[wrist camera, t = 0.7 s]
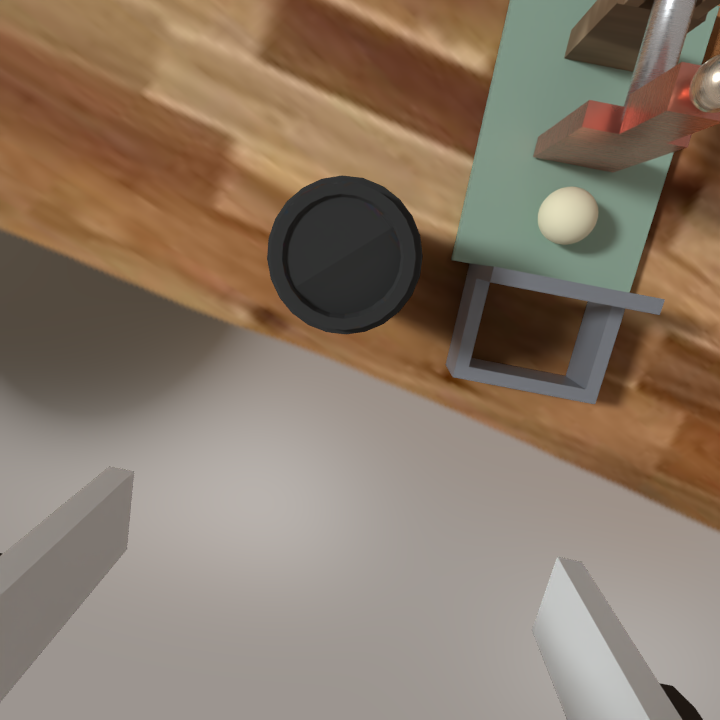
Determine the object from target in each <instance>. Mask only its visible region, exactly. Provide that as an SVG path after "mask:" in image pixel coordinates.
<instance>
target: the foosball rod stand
mask: <svg viewBox="0 0 720 720" xmlns="http://www.w3.org/2000/svg"><path fill="white" fill-rule="evenodd" d="M696 2H697V0H654V2H653V6H652V9H651V13H650V16H649V20H648V23H647V27H646V30H645V34H644V37H643V41H642V44H641V47H640V51H639V54H638V58H637V61H636V65H635V68H634V72H633V75H632V79H631V82H630V86H629V89H628V93H627V96H626V100H625V103H624V106H619V105H613V104H608V103H603V102H598V101H593V100H588V101H587V102H586V103H584V104H583V105H581V106H580V107H579V108H577V109H576V110H575V111H573V112H572V113H570V114H569V115H568V116H566V117H565V118H563V119H562V120H561V121H559V122H558V123H557V124H555V125H554V126H552V127H551V128H550V129H548V130H547V131H545V132H544V133H543V134H541V135H540V136H538V139H537V143H536V147H535V151H534V155H533V157H535V158H540V159H545V160H551V161H556V162H561V163H566V164H571V165H576V166H582V167H587V168H592V169H597V170H602V171H607V172H612V173H613V172H616V171H619V170H622V169H625V168H628V167H631V166H634V165H637V164H640V163H643V162H646V161H649V160H652V159H655V158H658V157H661V156H664V155H667V154H669V153H672V152H675V151H678V150H681V149H684V148H687V147H688V144H689V141H690V138H691V135H692V134H693V133H695V132H698V131H701V130H703V129H706V128H708V127H711V126H714V125H716V124H719V123H720V55H717V56H715V57H713V58H711V59H709V60H708V61H706V62H705V63H704V64H703V65H702V66H701V65H696V64H691V63H686V62H681V63H679V64H678V61H679V58H680V55H681V51H682V48H683V45H684V41H685V38H686V35H687V32H688V28H689V25H690V22H691V19H692V15H693V12H694V9H695V5H696ZM677 64H678V65H677Z"/></svg>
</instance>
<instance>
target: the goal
mask: <svg viewBox="0 0 720 720" xmlns="http://www.w3.org/2000/svg"><path fill="white" fill-rule="evenodd" d="M490 282H491V283H496V284H501V285H507V286H512V287H517V288H522V289H527V290H532V291H538V292H543V293H548V294H553V295H558V296H564V297H569V298H574V299H579V300H584V301H588V303H587V306H586V309H585V313H584V316H583V319H582V323H581V326H580V330H579V333H578V336H577V340H576V343H575V346H574V350H573V353H572V357H571V360H570V363H569V367H568V370H567V373H566V376H563V375H558V374H553V373H548V372H543V371H537V370H532V369H527V368H522V367H517V366H511V365H506V364H501V363H496V362H490V361H485V360H480V359H475V358H471V357H472V353H473V348H474V344H475V340H476V336H477V332H478V328H479V324H480V320H481V316H482V312H483V308H484V304H485V300H486V296H487V292H488V288H489V284H490ZM664 300H665V299H659V298H654V297H649V296H644V295H639V294H633V293H628V292H623V291H618V290H613V289H608V288H602V287H597V286H592V285H587V284H582V283H577V282H571V281H566V280H561V279H556V278H551V277H545V276H540V275H535V274H530V273H525V272H520V271H514V270H509V269H504V268H499V267H493V266H486V265H478V264H469V268H468V272H467V277H466V281H465V285H464V289H463V293H462V298H461V302H460V306H459V310H458V315H457V319H456V323H455V327H454V332H453V336H452V340H451V344H450V349H449V353H448V357H447V361H446V366H447V368H448V370H449V371H450V373H451V375H452V376H453V377H455V378H461V379H466V380H471V381H476V382H481V383H487V384H492V385H497V386H502V387H508V388H513V389H518V390H523V391H528V392H534V393H539V394H544V395H549V396H554V397H560V398H565V399H570V400H575V401H580V402H586V403H591V404H595V403H596V400H597V397H598V393H599V390H600V387H601V384H602V381H603V377H604V374H605V371H606V368H607V365H608V362H609V358H610V355H611V352H612V349H613V346H614V343H615V339H616V336H617V333H618V330H619V327H620V324H621V320H622V317H623V314H624V311H625V308H626V309H631V310H636V311H641V312H647V313H652V314H657V315H660V312H661V309H662V306H663V303H664Z"/></svg>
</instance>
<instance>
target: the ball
mask: <svg viewBox="0 0 720 720" xmlns="http://www.w3.org/2000/svg"><path fill="white" fill-rule="evenodd" d="M597 219H598V206H597V203H596V200H595V199H594V197H593V196H592V195H591V194H590V193H589V192H588V191H586V190H584V189H582V188H579V187H564V188H560V189H558V190H556V191H554V192H552V193H551V194H550V195H549V196H548V197H547V198H546V199H545V200H544V201H543V203H542V204H541V206H540V209H539V212H538V226H539V229H540V231H541V233H542V234H543V235H544V237H545V238H547V239H548V240H549V241H551V242H553V243H556V244H561V245H568V244H573V243H576V242H579V241H581V240H582V239H584V238H585V237H587V236H588V235H589V234H590V232H591V231H592V230H593V228H594V227H595V225H596V222H597Z"/></svg>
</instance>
